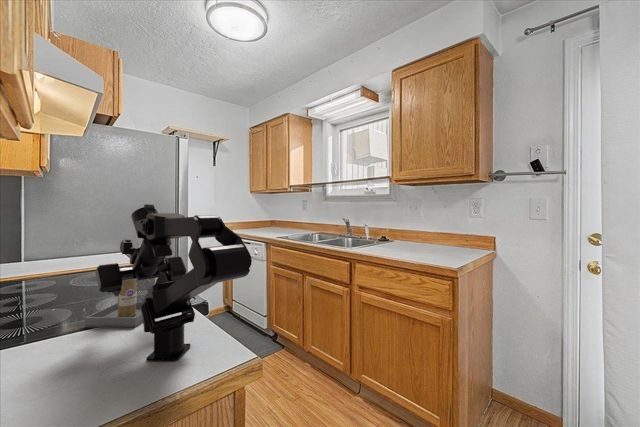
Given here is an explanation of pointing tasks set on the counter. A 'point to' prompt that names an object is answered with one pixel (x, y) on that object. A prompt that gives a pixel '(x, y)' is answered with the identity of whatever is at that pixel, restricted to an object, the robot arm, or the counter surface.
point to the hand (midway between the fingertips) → (136, 291)
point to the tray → (114, 318)
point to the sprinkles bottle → (127, 298)
